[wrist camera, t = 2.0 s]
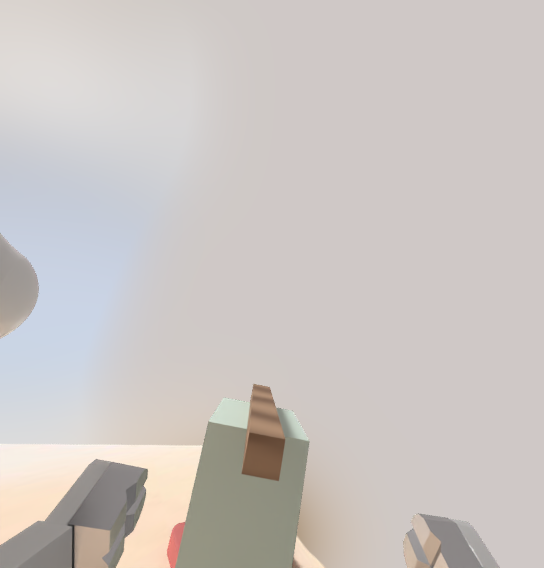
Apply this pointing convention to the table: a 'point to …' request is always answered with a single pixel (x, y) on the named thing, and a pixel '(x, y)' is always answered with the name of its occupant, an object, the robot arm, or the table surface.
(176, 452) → the table surface
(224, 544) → the pedestal
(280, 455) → the rod
